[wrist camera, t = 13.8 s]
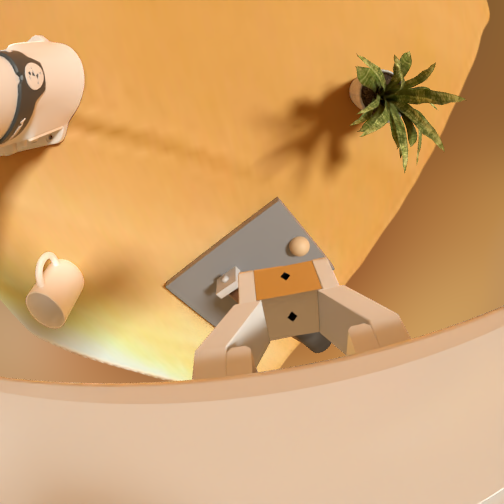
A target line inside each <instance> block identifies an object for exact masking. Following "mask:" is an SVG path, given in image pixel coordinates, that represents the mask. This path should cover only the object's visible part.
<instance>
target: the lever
mask: <svg viewBox="0 0 504 504" xmlns="http://www.w3.org/2000/svg"><path fill="white" fill-rule="evenodd" d="M228 295H229V296H230V297H232V298H233V299H234V300H235V301H236V302H237V303H239V294H238V288H237V289H235V290H234V291H232V292H231V293H229V294H228ZM291 337H293V338H294V339H296V340H298V341H300V342H301V343H303V344H305V345H306V346H307V347H308V348H310V350H312V351H313V352H315V353H320V352H323V351H325V350H326V349H327V348H328V347H329V346H330V344H331V342H330V341H329V340H328V339H327V338H326V337H324V336H323V335H322V334H321V333H320V332H315V333H309V334H303V335H297V336H291Z"/></svg>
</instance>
